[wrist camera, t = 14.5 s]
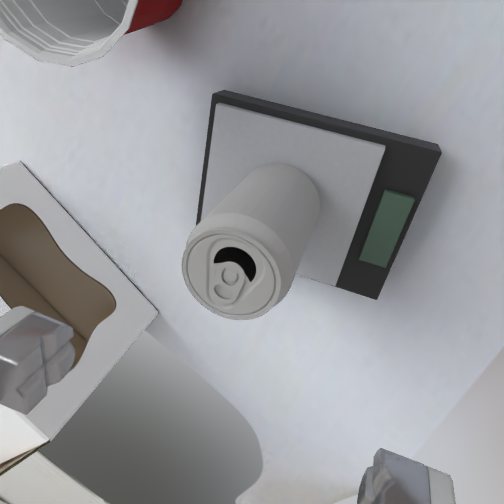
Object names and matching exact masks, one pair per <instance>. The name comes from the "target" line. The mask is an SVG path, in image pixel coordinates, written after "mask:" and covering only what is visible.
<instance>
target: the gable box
mask: <svg viewBox="0 0 504 504" xmlns="http://www.w3.org/2000/svg"><path fill="white" fill-rule="evenodd" d="M0 296H1V297H2V299H3V300H4V301H5V302H6V304H7V305H8V306H9V307H10V308H11V309H13V308H14V307H18V306H24V307H26V308H29V309H31V310H34V311H36V312H39V313H41V314H43V315H46V316H48V317H50V318H53V319H55V320H57V321H60V322H62V323H64V324H67V325H69V326H71V327H72V328H73V335H74V337H72V338H71V339H70V340H69V341H70V342H71V344H72V345H73V347H74V348H75V358H74V362H73V365H72V366H71V368H70V370H69V372H68V373H67V375H66V376H65V377H64V378H63V379H62V380H61V381H60V382H58V383H56V384H53V385H50V386H48V390H47V395H46V396H45V397H44V398H43V399H42V400H41V401H40V402H39V403H38V404H37V405H36V406H35V407H34V408H33V409H32V410H31V411H30V412H29V413H28V414H27V415H25V414H23V413H20V412H18V411H15V410H13V409H11V408H8V407H6V406H3V405H1V404H0V476H1V475H3V474H4V473H5V472H7V471H8V470H10V469H11V468H13V467H14V466H16V465H17V464H19V463H20V462H22V461H23V460H25V459H26V458H28V457H29V456H30V455H32V454H33V453H35V452H36V451H38V450H39V449H41V448H42V447H44V446H45V445H47V444H48V443H50V442H51V440H52V439H53V438H54V437H55V436H56V434H57V433H58V432H59V431H60V430H61V428H62V427H63V426H64V425H65V424H66V423H67V421H68V420H69V419H70V418H71V417H72V415H73V414H74V413H75V412H76V411H77V409H78V408H79V407H80V406H81V405H82V404H83V402H84V401H85V400H86V399H87V398H88V396H89V395H90V394H91V393H92V391H94V389H95V388H96V387H97V385H99V383H100V382H101V381H102V380H103V379H104V377H105V376H106V375H107V374H108V373H109V371H110V370H111V369H112V368H113V367H114V366H115V364H116V363H117V362H118V361H119V360H120V358H121V357H122V356H123V355H124V354H125V352H126V351H127V350H128V349H129V348H130V346H131V345H132V344H133V343H134V342H135V341H136V339H137V338H138V337H139V336H140V335H141V333H142V332H143V331H144V330H145V329H146V328H147V326H148V325H149V324H150V323H151V322H152V320H153V319H154V318H155V317H156V316H157V314H158V311H157V310H156V309H155V308H154V307H153V306H152V305H151V303H150V302H149V301H148V300H147V299H146V298H145V297H144V296H143V295H142V294H141V293H140V292H139V290H138V289H137V288H136V287H135V286H134V285H133V284H132V283H131V282H130V281H129V280H128V278H127V277H126V276H125V275H124V274H123V273H122V272H121V271H120V270H119V269H118V268H117V266H116V265H115V264H114V263H113V262H112V261H111V260H110V259H109V258H108V257H107V256H106V255H105V253H104V252H103V251H102V250H101V249H100V248H99V247H98V246H97V245H96V244H95V243H94V241H93V240H92V239H91V238H90V237H89V236H88V235H87V234H86V233H85V232H84V231H83V229H82V228H81V227H80V226H79V225H78V224H77V223H76V222H75V221H74V220H73V219H72V218H71V216H70V215H69V214H68V213H67V212H66V211H65V210H64V209H63V208H62V207H61V206H60V204H59V203H58V202H57V201H56V200H55V199H54V198H53V197H52V196H51V195H50V194H49V192H48V191H47V190H46V189H45V188H44V187H43V186H42V185H41V184H40V183H39V182H38V181H37V179H36V178H35V177H34V176H33V175H32V174H31V173H30V172H29V171H28V170H27V169H26V167H25V166H24V165H23V164H22V163H21V162H20V161H16V162H13V163H10V164H7V165H4V166H0Z"/></svg>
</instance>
